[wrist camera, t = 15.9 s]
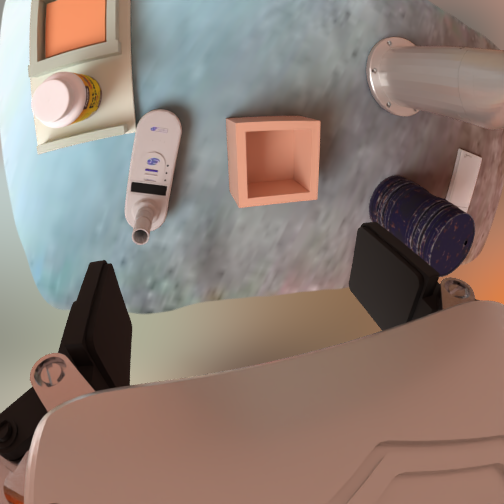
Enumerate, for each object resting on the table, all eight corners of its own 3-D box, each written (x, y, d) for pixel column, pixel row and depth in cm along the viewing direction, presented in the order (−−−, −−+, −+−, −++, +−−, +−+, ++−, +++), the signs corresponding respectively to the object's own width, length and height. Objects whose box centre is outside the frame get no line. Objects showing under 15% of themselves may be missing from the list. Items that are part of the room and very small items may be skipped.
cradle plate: (107, -11, 21) (105, -14, 20) (106, 42, 25) (104, 40, 24) (49, 5, 20) (46, 4, 19) (48, 58, 23) (45, 57, 23)
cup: (299, 115, 36) (320, 121, 31) (298, 184, 41) (317, 199, 36) (225, 118, 34) (235, 123, 29) (229, 191, 39) (239, 207, 34)
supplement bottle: (108, 110, 29) (84, 117, 21) (67, 127, 29) (32, 142, 20) (98, 67, 26) (70, 59, 18) (56, 86, 26) (18, 87, 17)
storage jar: (365, 233, 48) (421, 284, 36) (370, 176, 43) (438, 216, 30) (408, 225, 50) (465, 269, 37) (416, 173, 45) (481, 209, 32)
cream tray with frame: (131, -25, 21) (128, -35, 19) (137, 131, 32) (133, 134, 29) (33, 3, 19) (23, -3, 16) (41, 152, 30) (31, 158, 27)
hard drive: (462, 149, 43) (446, 210, 49) (482, 157, 46) (467, 213, 51) (456, 147, 45) (441, 207, 51) (477, 155, 47) (462, 210, 53)
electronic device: (189, 115, 25) (163, 263, 31) (185, 112, 33) (164, 226, 39) (131, 107, 23) (113, 257, 29) (142, 106, 31) (125, 221, 37)
